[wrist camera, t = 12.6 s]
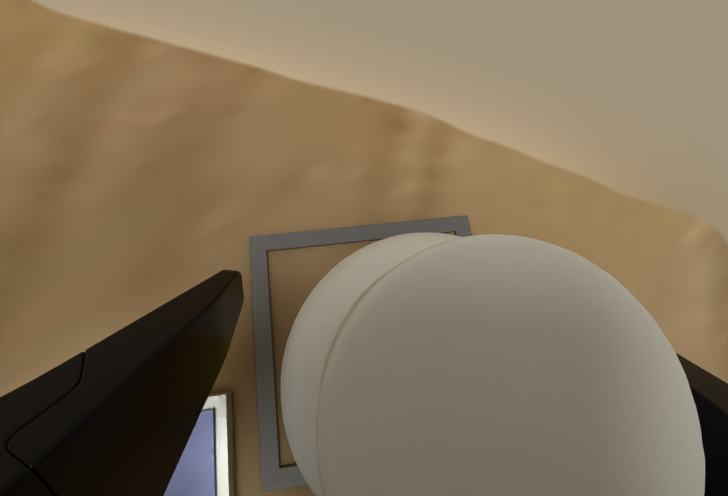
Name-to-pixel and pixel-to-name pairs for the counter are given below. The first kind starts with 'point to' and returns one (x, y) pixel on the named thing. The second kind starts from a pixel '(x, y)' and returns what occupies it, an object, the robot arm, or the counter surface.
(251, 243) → the outlined square
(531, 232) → the counter surface
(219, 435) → the ink pad
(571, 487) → the supplement bottle
